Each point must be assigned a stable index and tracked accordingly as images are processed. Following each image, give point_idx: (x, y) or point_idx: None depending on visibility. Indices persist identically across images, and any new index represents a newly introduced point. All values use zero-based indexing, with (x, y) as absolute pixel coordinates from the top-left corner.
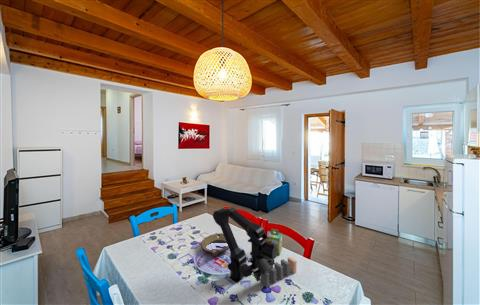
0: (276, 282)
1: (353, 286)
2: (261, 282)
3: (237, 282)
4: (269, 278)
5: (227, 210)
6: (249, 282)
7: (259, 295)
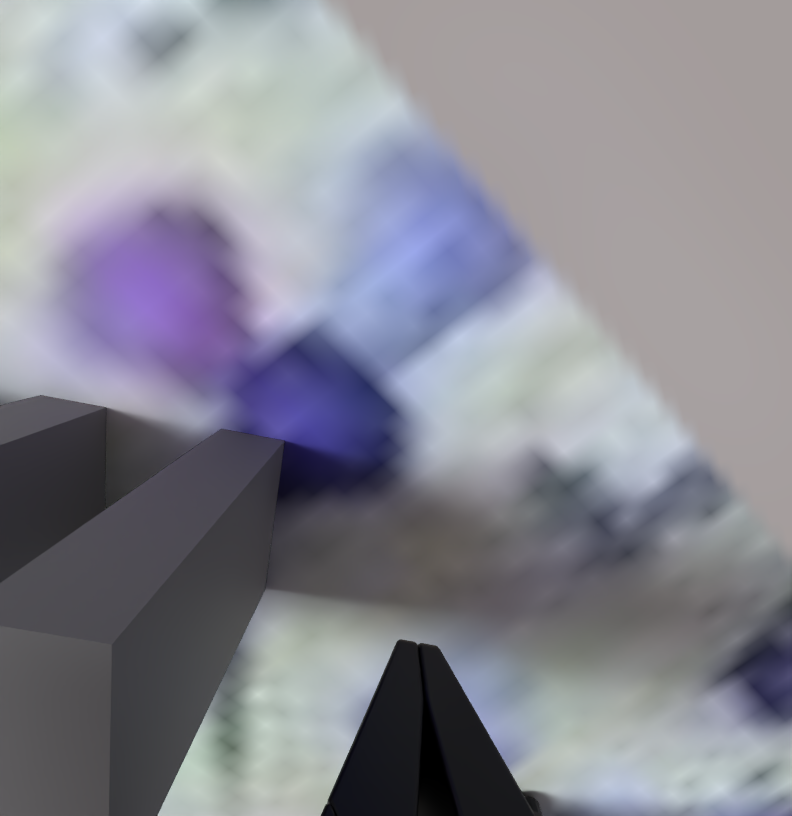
0: (39, 396)
1: None
2: (263, 577)
3: (537, 803)
4: None
5: None
6: None
7: (519, 422)
